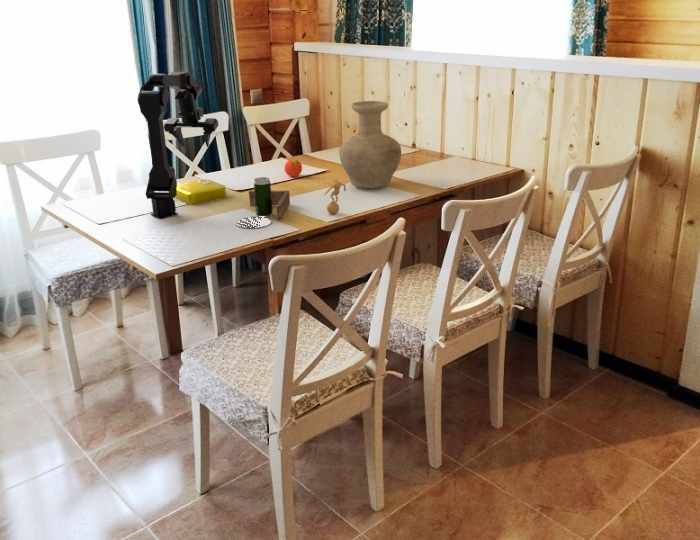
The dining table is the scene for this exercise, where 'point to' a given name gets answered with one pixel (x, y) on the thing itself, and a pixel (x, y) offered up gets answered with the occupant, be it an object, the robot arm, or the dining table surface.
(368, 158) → the vase
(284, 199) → the corner niche
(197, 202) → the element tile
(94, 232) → the dining table surface
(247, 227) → the coaster
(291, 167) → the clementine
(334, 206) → the figurine
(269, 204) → the beer can
